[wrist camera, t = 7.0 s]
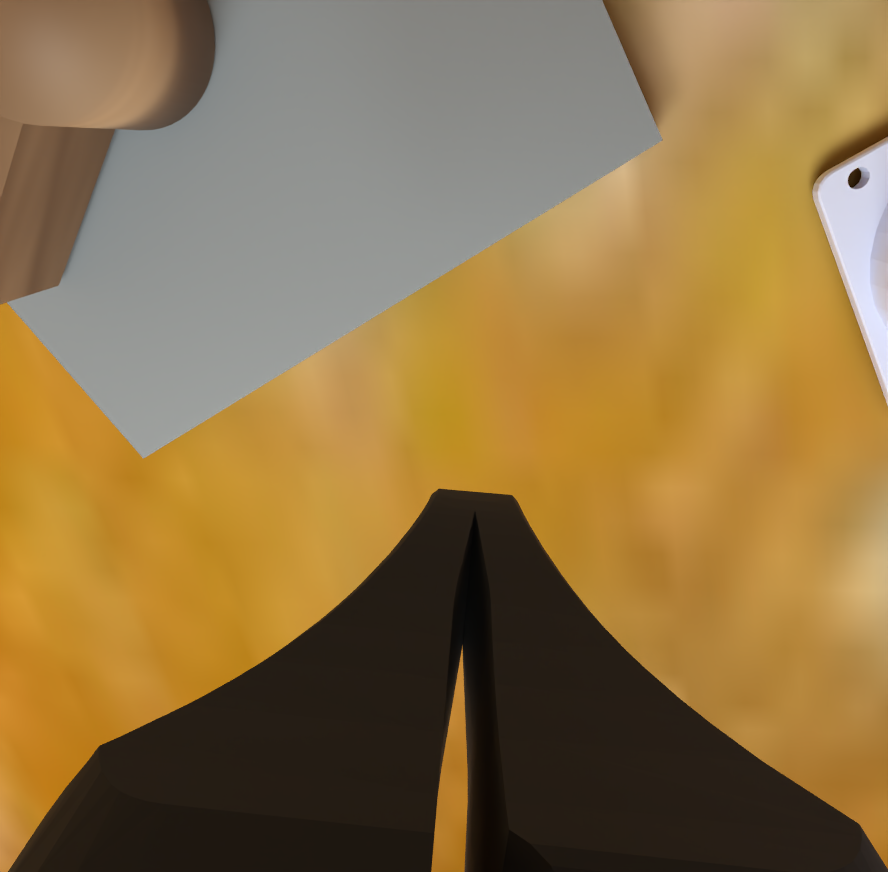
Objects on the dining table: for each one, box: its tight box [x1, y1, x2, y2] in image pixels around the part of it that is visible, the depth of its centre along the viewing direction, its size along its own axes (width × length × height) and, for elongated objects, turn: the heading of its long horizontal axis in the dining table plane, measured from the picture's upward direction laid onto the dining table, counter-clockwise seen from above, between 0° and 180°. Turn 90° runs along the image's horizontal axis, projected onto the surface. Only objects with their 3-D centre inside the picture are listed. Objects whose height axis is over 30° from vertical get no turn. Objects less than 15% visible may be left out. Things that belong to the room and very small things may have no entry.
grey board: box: [7, 0, 662, 458], centre depth 16 cm, size 18×16×1 cm
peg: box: [0, 0, 215, 304], centre depth 14 cm, size 4×12×5 cm, turn 147°
